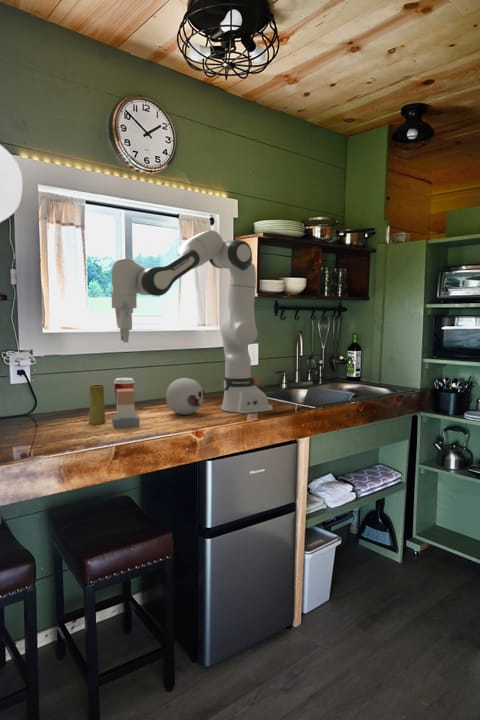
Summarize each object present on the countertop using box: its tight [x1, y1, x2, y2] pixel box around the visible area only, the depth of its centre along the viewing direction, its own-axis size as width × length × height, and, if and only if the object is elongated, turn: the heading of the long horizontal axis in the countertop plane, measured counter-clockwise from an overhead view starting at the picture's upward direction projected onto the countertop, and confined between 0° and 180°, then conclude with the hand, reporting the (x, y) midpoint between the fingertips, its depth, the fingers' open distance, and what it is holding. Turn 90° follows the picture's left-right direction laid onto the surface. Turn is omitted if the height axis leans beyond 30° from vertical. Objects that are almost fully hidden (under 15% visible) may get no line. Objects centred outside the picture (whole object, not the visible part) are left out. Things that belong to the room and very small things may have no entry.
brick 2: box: [116, 403, 136, 419], centre depth 185 cm, size 6×6×5 cm
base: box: [111, 412, 140, 429], centre depth 185 cm, size 9×9×3 cm
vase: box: [88, 383, 107, 425], centre depth 187 cm, size 6×6×14 cm
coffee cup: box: [113, 377, 135, 411], centre depth 200 cm, size 8×8×15 cm
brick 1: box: [116, 389, 135, 405], centre depth 184 cm, size 6×6×5 cm
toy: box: [165, 377, 205, 416], centre depth 204 cm, size 15×15×15 cm
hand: (124, 341), depth 182 cm, fingers open, 8 cm apart
